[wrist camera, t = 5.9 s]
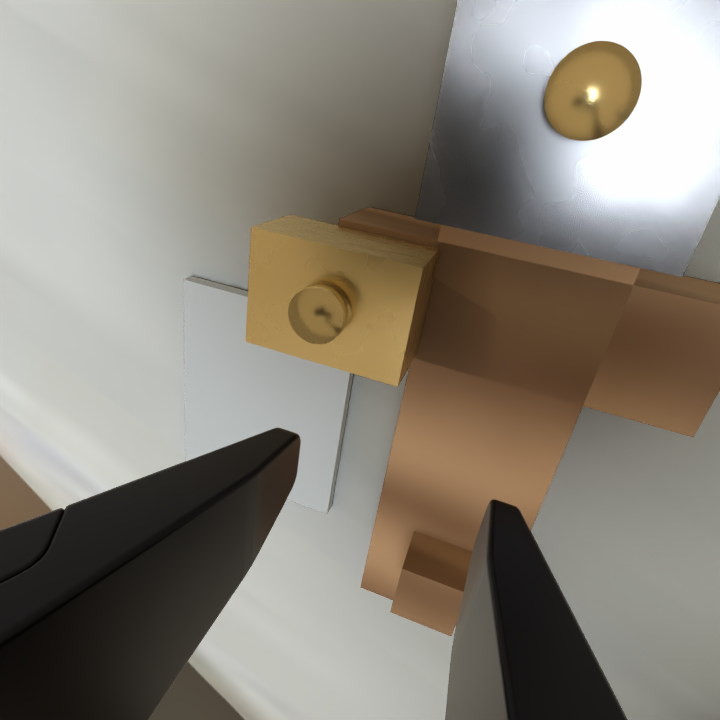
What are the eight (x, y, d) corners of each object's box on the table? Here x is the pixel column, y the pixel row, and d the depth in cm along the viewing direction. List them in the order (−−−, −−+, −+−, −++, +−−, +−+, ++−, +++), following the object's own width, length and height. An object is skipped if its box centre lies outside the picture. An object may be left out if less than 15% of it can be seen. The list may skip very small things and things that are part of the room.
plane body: (562, 607, 23) (567, 718, 18) (320, 517, 25) (274, 596, 21) (870, -3, 12) (1047, -76, 8) (406, -48, 15) (352, -122, 11)
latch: (416, 354, 17) (390, 399, 14) (281, 316, 18) (231, 351, 15) (440, 248, 15) (416, 275, 12) (290, 214, 16) (236, 231, 13)
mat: (331, 506, 25) (326, 514, 24) (192, 455, 27) (185, 462, 26) (361, 322, 20) (357, 327, 20) (191, 276, 22) (183, 279, 22)
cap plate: (662, 256, 13) (689, 284, 11) (430, 208, 15) (409, 222, 12) (796, -52, 10) (875, -109, 8) (490, -77, 12) (477, -132, 9)
